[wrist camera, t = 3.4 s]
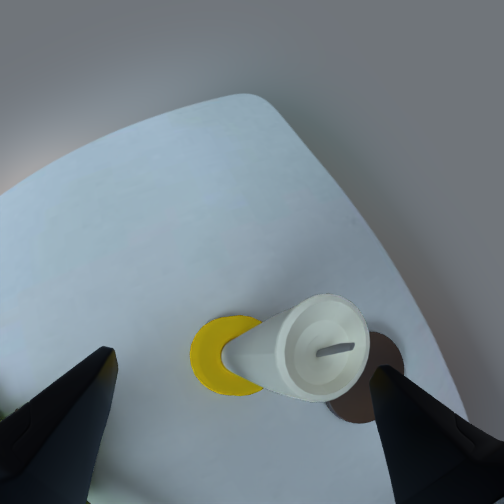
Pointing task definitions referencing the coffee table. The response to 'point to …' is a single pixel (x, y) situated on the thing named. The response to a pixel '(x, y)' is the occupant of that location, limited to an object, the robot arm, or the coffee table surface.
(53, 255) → the coffee table surface
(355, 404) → the coaster
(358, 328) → the candle
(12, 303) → the coffee table surface
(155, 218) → the coffee table surface
